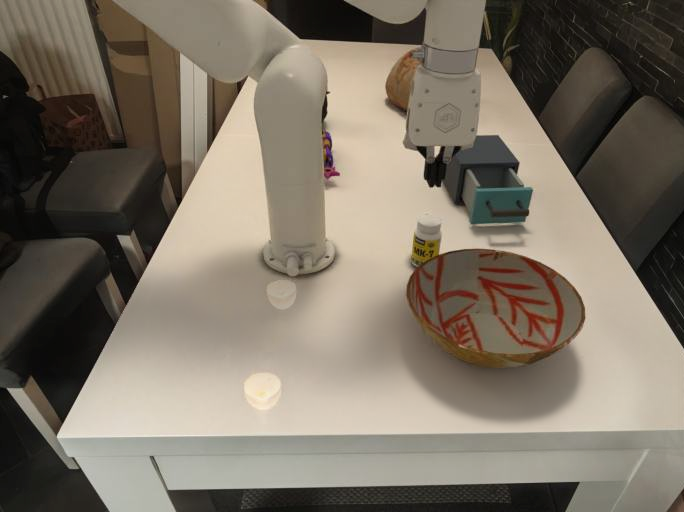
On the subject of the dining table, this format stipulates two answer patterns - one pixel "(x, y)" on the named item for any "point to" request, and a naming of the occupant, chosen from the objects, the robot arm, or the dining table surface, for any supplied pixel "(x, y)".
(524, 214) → the teal drawer
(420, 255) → the supplement bottle
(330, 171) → the purple toy figure
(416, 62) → the bread
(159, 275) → the dining table surface
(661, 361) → the dining table surface
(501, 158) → the drawer box
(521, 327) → the bowl
